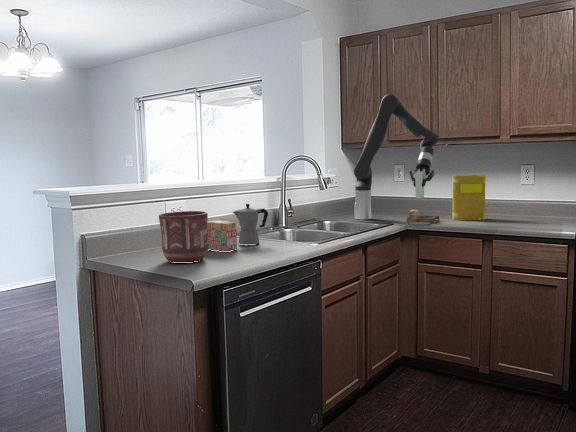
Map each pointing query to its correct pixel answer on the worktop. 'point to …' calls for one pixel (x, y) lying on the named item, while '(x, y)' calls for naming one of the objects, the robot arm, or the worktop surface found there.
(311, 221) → the worktop surface
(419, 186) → the slat
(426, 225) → the mat
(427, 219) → the rack
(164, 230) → the pottery
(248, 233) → the coffeepot
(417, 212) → the offcut top
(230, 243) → the stack of blocks
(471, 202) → the book
